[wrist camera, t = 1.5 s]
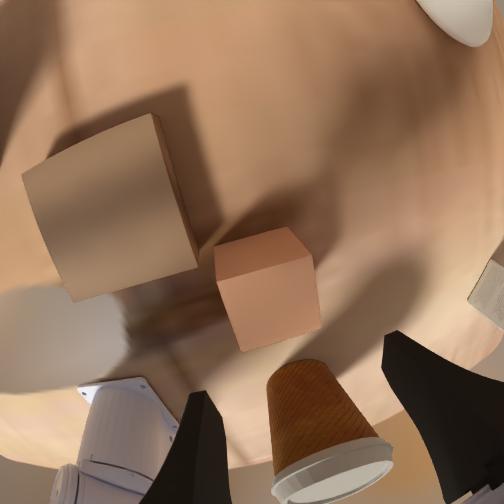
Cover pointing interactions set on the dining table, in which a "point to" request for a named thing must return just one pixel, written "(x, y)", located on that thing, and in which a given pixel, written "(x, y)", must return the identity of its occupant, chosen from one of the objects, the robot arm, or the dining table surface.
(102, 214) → the walnut block
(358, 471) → the disposable coffee cup
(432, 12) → the flower in vase
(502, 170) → the dining table surface
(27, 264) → the dining table surface
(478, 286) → the skincare box
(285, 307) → the terracotta cube
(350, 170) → the dining table surface
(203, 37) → the dining table surface
